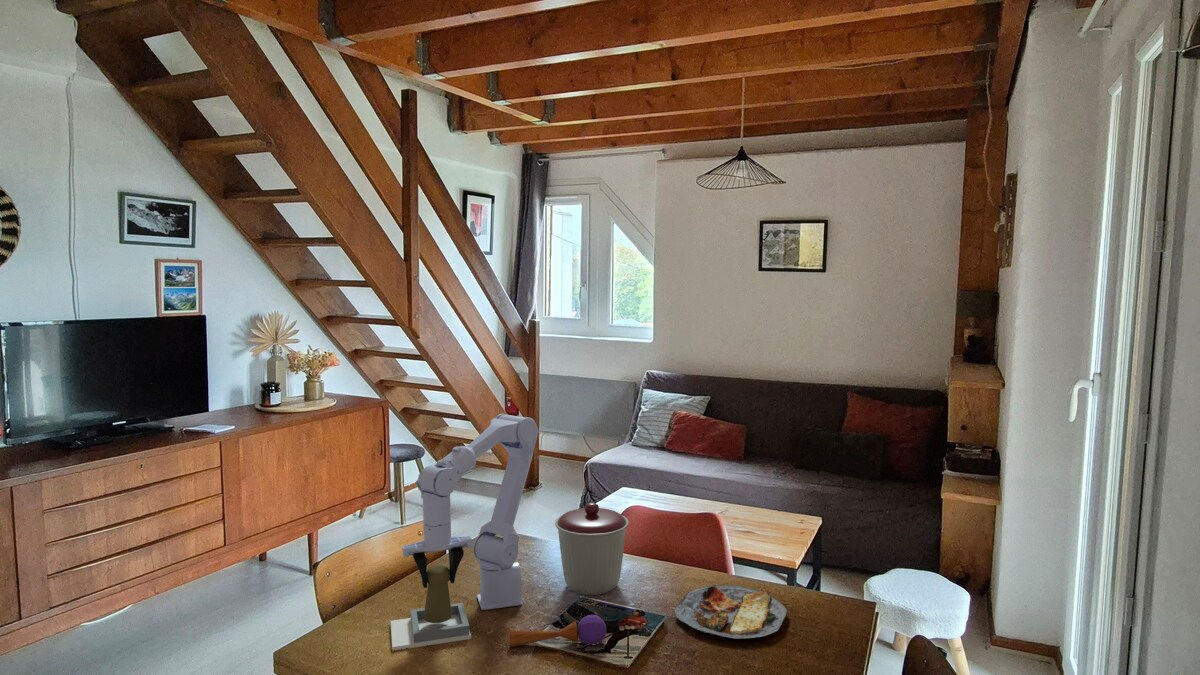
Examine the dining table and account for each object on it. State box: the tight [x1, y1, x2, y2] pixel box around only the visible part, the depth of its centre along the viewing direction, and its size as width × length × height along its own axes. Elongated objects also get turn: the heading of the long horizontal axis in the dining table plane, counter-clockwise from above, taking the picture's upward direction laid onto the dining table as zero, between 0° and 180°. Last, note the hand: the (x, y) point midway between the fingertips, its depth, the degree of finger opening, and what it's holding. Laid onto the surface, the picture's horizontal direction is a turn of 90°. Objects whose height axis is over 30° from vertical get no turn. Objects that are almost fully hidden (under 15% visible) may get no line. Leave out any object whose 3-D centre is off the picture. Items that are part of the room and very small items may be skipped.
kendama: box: [508, 614, 607, 649], centre depth 149 cm, size 6×6×20 cm
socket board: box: [390, 602, 472, 652], centre depth 155 cm, size 16×12×3 cm
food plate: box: [674, 584, 788, 640], centre depth 161 cm, size 25×23×4 cm
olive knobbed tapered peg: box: [424, 564, 452, 623], centre depth 155 cm, size 6×6×11 cm
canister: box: [554, 502, 630, 596], centre depth 177 cm, size 18×18×21 cm
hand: (438, 583), depth 155 cm, fingers closed on olive knobbed tapered peg, 5 cm apart
